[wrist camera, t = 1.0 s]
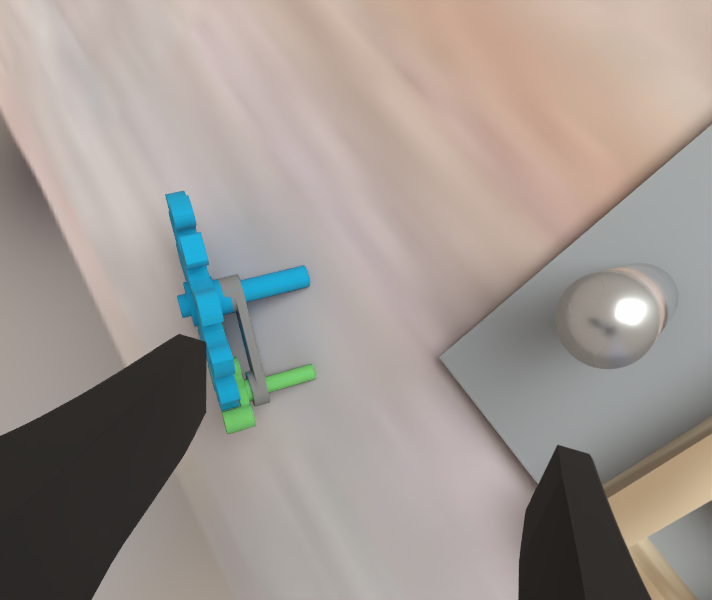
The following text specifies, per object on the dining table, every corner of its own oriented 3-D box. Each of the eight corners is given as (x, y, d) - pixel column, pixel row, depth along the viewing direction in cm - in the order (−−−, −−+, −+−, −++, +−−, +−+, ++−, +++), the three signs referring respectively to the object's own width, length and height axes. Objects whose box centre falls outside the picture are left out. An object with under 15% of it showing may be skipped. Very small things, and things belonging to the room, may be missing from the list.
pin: (694, 302, 22) (682, 328, 15) (636, 344, 23) (599, 388, 16) (645, 249, 23) (611, 251, 16) (590, 293, 24) (535, 313, 17)
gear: (153, 205, 33) (147, 182, 23) (266, 183, 34) (303, 152, 25) (206, 410, 34) (221, 468, 25) (312, 380, 36) (365, 423, 26)
